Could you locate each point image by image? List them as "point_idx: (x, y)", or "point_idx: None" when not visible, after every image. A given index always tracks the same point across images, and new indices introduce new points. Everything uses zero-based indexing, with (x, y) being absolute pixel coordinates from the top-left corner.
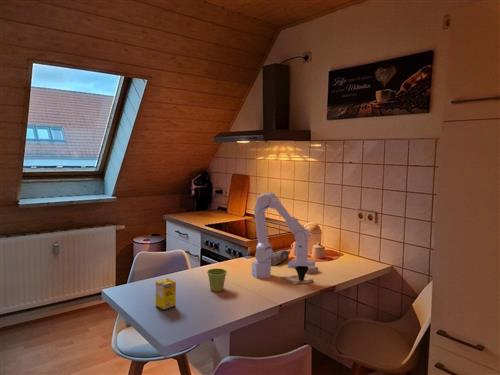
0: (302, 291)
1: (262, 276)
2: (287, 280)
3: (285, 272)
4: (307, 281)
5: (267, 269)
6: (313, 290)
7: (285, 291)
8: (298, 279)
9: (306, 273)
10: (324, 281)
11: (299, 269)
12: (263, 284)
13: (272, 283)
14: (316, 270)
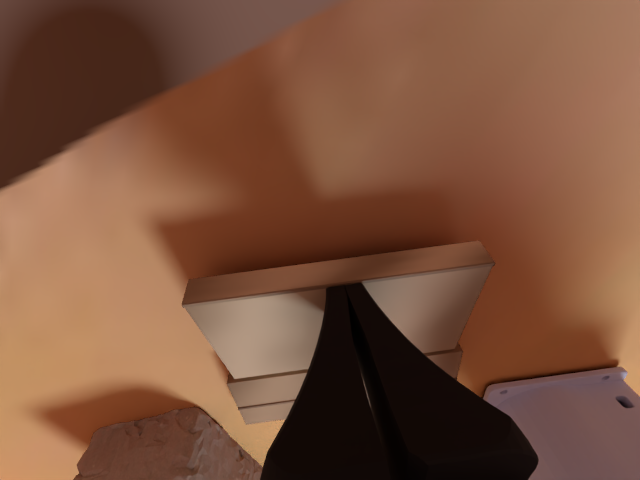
0: (430, 72)
1: (591, 403)
2: (455, 333)
3: None
4: (271, 279)
5: (605, 470)
6: (257, 74)
7: (621, 122)
8: None
9: (201, 435)
10: (45, 315)
11: (529, 445)
12: (636, 313)
13: (556, 322)
14: (93, 469)
